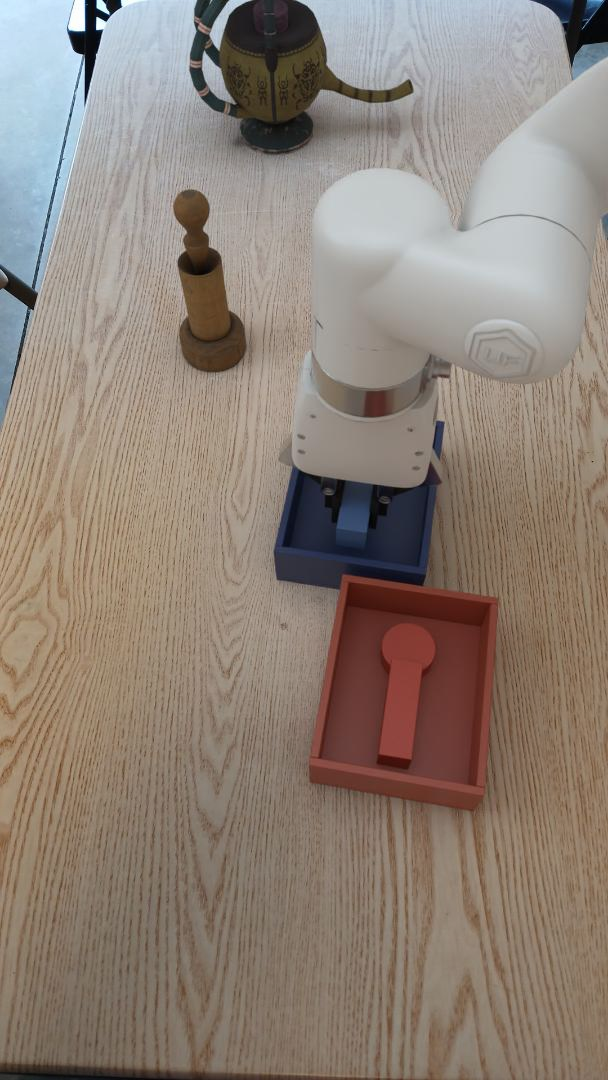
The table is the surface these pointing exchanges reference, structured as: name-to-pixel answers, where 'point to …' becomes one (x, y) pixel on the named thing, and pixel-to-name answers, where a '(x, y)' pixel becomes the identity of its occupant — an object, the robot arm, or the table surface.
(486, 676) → the red bin
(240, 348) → the mortar and pestle
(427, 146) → the table surface
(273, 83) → the teapot
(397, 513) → the blue bin
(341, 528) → the blue spoon
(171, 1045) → the table surface
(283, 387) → the table surface
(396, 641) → the red spoon
